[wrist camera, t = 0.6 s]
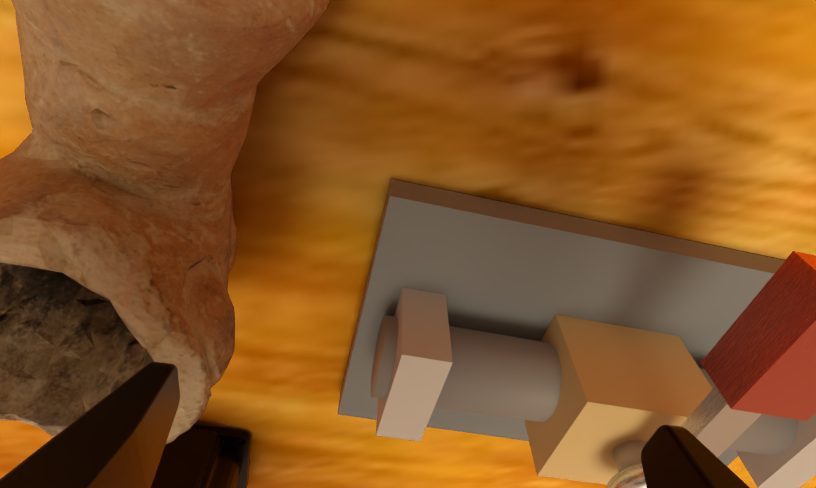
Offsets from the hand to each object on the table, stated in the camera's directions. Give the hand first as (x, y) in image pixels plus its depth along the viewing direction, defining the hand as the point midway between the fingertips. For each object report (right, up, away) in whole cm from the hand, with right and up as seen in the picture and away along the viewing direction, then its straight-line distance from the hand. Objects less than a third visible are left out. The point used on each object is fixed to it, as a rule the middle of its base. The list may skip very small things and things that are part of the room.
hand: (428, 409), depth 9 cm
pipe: (-9, +8, +10) cm, 16 cm away
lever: (+10, -2, +8) cm, 13 cm away
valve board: (+9, -2, +17) cm, 19 cm away
